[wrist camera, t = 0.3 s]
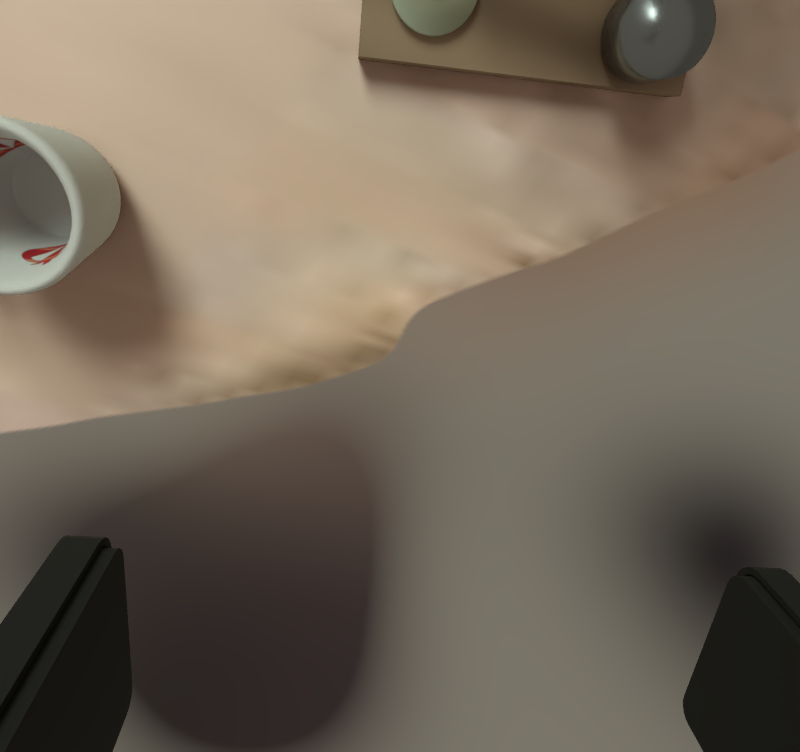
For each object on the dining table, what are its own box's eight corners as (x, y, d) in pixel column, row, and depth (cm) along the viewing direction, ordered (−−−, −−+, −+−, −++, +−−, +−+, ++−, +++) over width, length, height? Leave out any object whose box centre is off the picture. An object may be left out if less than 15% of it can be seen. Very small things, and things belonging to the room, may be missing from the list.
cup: (0, 297, 37) (-90, 341, 29) (-86, 164, 34) (-210, 176, 26) (165, 232, 36) (116, 261, 28) (93, 90, 33) (17, 81, 25)
